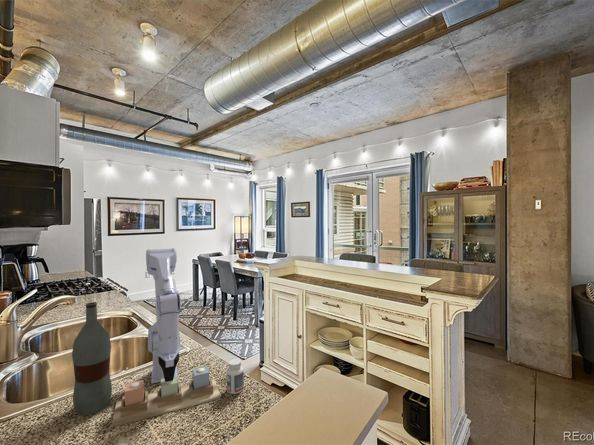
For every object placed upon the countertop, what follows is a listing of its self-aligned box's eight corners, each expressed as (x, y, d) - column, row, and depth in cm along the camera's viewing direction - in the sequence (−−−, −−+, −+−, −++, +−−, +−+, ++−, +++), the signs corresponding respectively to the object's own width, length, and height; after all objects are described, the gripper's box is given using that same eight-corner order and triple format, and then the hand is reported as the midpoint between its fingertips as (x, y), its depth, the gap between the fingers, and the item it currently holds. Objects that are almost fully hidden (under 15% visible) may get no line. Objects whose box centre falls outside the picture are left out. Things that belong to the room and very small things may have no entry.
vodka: (117, 395, 89) (116, 298, 89) (102, 415, 80) (101, 307, 80) (84, 398, 88) (82, 299, 88) (65, 419, 79) (63, 309, 79)
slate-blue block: (192, 383, 91) (192, 368, 91) (207, 379, 93) (207, 365, 93) (194, 390, 88) (194, 375, 87) (209, 386, 89) (209, 371, 89)
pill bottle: (245, 385, 94) (245, 358, 94) (241, 394, 89) (240, 366, 89) (229, 384, 95) (229, 357, 95) (224, 394, 90) (223, 365, 90)
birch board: (116, 403, 85) (116, 393, 85) (214, 380, 98) (214, 371, 98) (111, 427, 76) (111, 416, 76) (220, 398, 88) (220, 388, 88)
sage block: (161, 393, 88) (160, 378, 88) (176, 390, 90) (176, 374, 89) (161, 402, 84) (161, 385, 84) (177, 397, 86) (177, 382, 85)
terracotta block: (126, 399, 84) (126, 382, 84) (143, 395, 86) (143, 379, 86) (125, 408, 80) (124, 391, 80) (143, 403, 82) (142, 386, 82)
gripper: (153, 328, 91) (154, 372, 91) (153, 346, 78) (153, 397, 78) (178, 325, 94) (178, 366, 94) (181, 341, 81) (182, 390, 81)
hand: (169, 380), depth 86 cm, fingers closed, pressing on sage block
